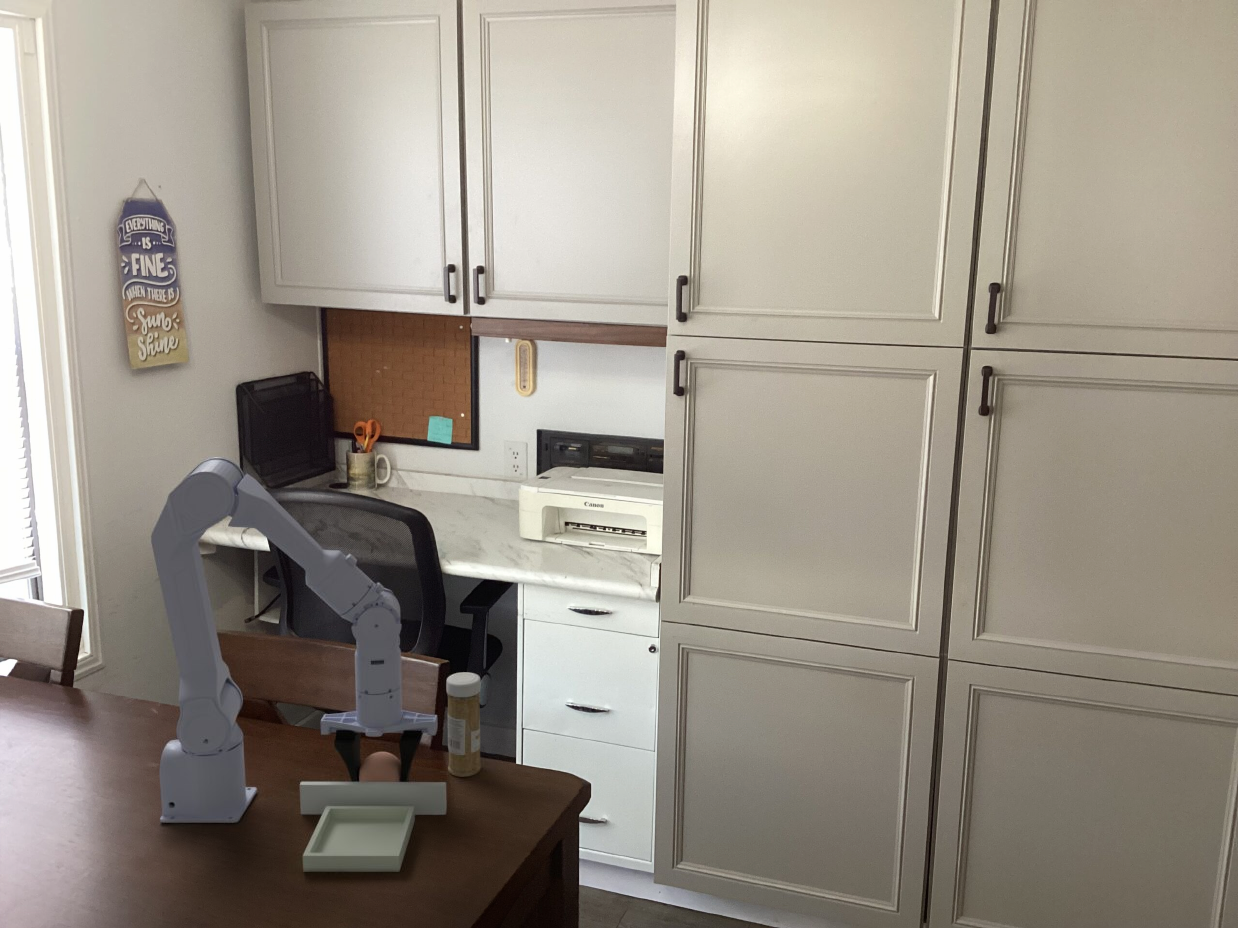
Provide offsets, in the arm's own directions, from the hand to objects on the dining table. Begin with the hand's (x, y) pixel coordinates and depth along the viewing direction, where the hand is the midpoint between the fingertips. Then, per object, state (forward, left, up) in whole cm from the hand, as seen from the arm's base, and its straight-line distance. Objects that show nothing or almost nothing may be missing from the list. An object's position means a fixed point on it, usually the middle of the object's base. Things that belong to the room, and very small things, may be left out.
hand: (381, 783), depth 133 cm
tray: (0, -12, -1) cm, 12 cm away
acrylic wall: (0, -5, -1) cm, 5 cm away
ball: (0, 0, +1) cm, 1 cm away
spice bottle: (+10, +7, -2) cm, 12 cm away
